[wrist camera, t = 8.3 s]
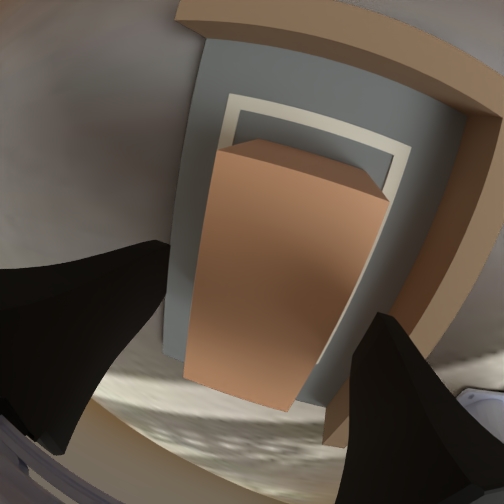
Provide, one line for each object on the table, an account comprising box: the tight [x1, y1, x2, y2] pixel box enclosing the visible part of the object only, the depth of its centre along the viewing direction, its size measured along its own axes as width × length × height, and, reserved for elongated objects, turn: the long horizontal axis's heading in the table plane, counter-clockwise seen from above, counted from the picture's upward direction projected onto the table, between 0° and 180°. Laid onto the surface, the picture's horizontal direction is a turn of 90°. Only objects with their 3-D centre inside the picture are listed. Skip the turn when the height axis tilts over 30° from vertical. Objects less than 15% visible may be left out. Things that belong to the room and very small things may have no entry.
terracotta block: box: [183, 139, 390, 412], centre depth 11 cm, size 9×4×5 cm, turn 168°
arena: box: [163, 0, 504, 448], centre depth 12 cm, size 13×20×4 cm, turn 168°
